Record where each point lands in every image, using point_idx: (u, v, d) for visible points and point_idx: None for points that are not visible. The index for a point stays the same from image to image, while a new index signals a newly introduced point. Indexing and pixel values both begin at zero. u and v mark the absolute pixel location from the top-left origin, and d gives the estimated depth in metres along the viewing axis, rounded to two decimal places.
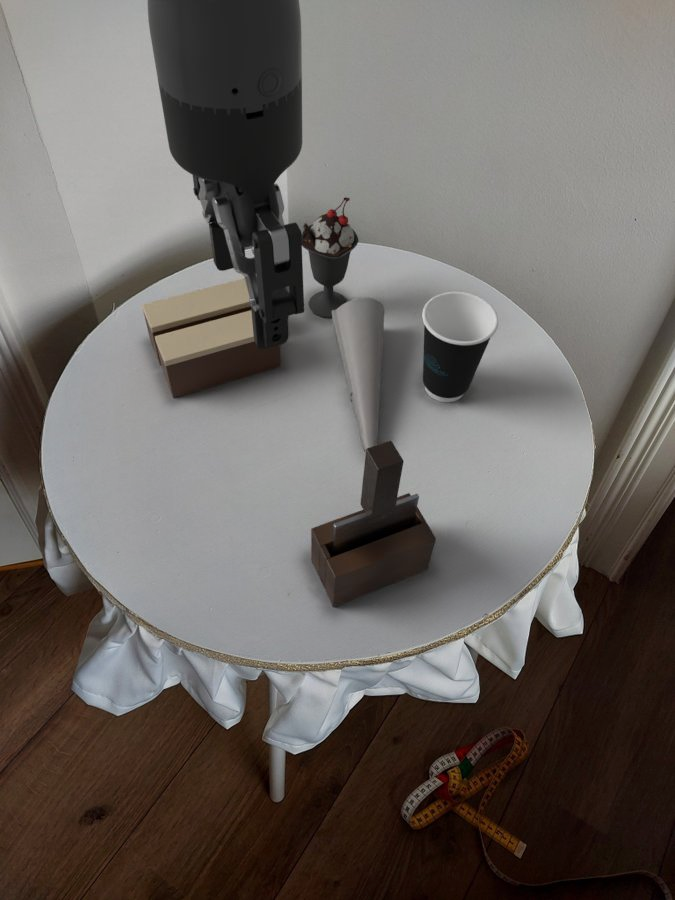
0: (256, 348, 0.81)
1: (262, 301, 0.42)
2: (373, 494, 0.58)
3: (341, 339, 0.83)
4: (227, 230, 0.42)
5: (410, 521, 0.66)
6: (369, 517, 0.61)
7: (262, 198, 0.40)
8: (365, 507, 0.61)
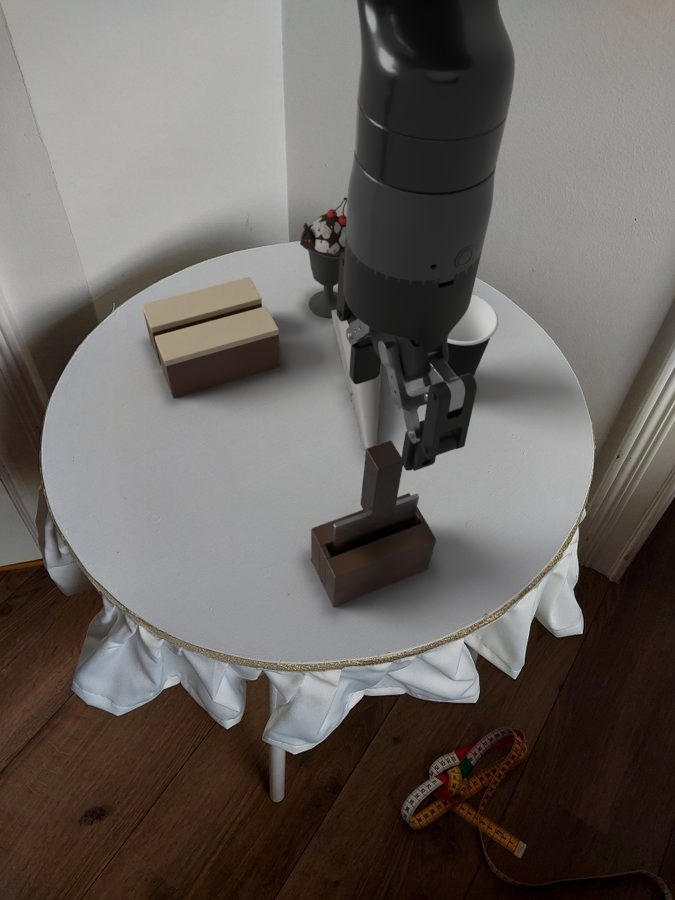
0: (256, 348, 0.81)
1: (428, 441, 0.44)
2: (373, 494, 0.58)
3: (341, 339, 0.83)
4: (393, 371, 0.44)
5: (410, 521, 0.66)
6: (369, 517, 0.61)
7: (435, 348, 0.42)
8: (365, 507, 0.61)
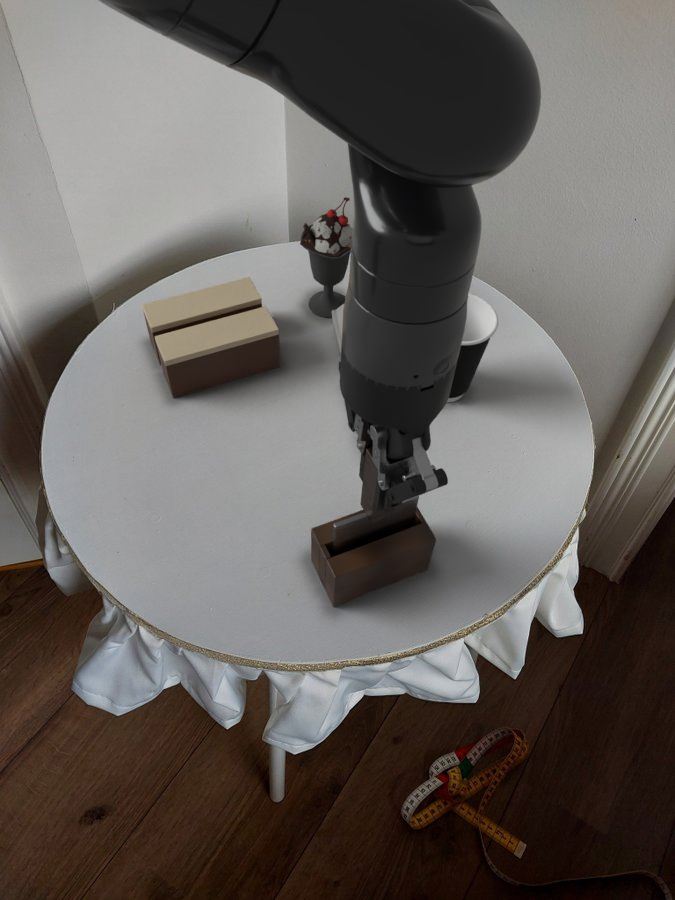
0: (256, 348, 0.81)
1: (396, 496, 0.52)
2: (373, 494, 0.58)
3: (341, 339, 0.83)
4: (379, 449, 0.51)
5: (410, 521, 0.66)
6: (369, 517, 0.61)
7: (419, 435, 0.48)
8: (365, 507, 0.61)
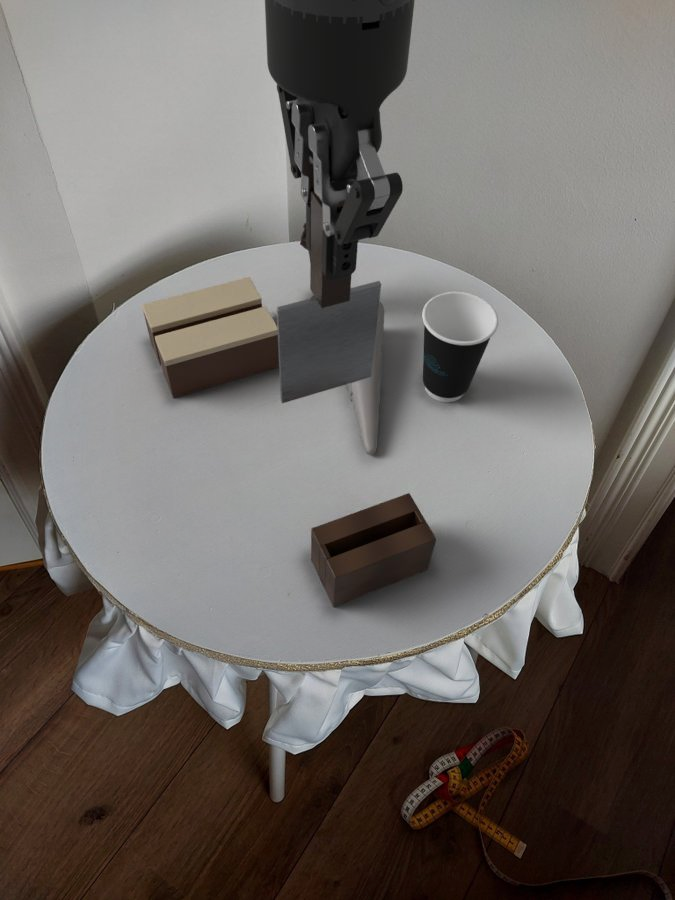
0: (256, 348, 0.81)
1: (342, 229, 0.42)
2: (321, 257, 0.48)
3: None
4: (319, 162, 0.41)
5: (373, 325, 0.56)
6: (319, 299, 0.51)
7: (366, 122, 0.38)
8: (314, 288, 0.51)
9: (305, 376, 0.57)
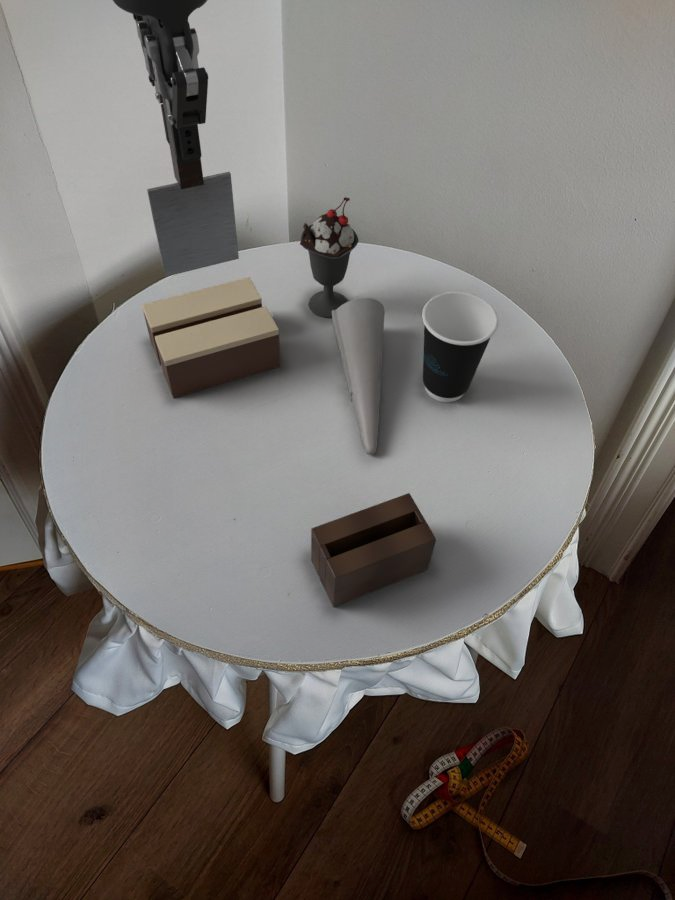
0: (256, 348, 0.81)
1: (175, 114, 0.58)
2: (173, 145, 0.64)
3: (341, 339, 0.83)
4: (154, 64, 0.57)
5: (231, 210, 0.72)
6: (179, 182, 0.67)
7: (179, 30, 0.54)
8: (176, 174, 0.67)
9: (180, 253, 0.73)
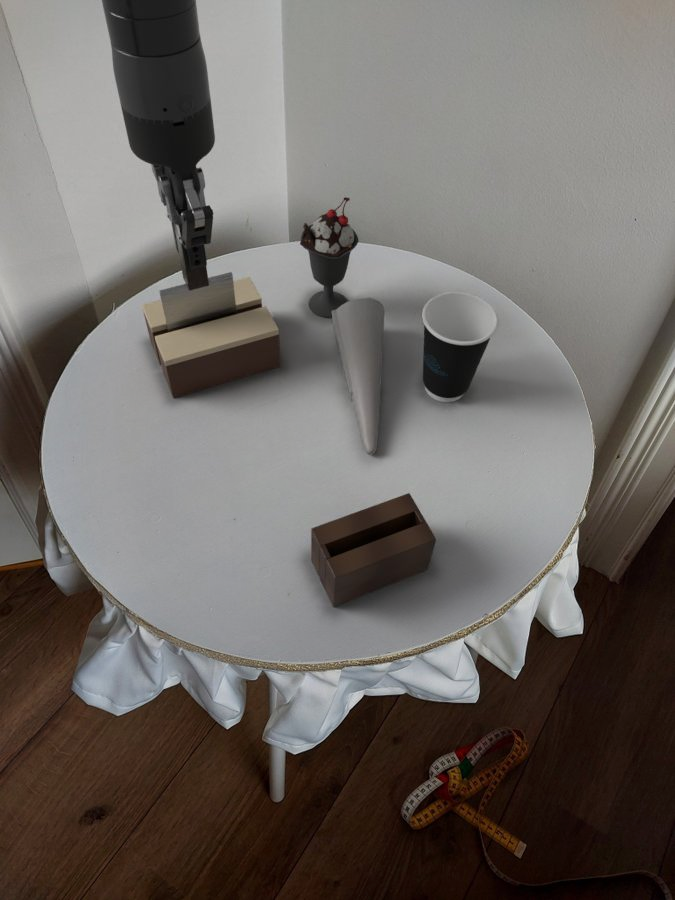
0: (256, 348, 0.81)
1: (184, 239, 0.68)
2: (182, 256, 0.73)
3: (341, 339, 0.83)
4: (167, 198, 0.66)
5: (232, 302, 0.81)
6: (187, 284, 0.76)
7: (188, 176, 0.63)
8: (184, 277, 0.76)
9: None
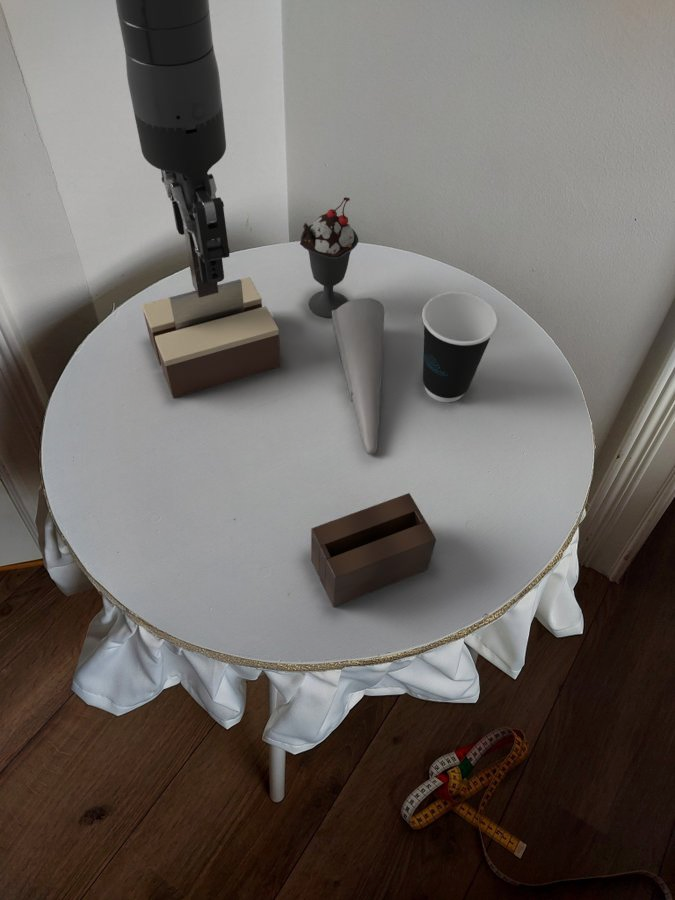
0: (256, 348, 0.81)
1: (201, 248, 0.66)
2: (193, 264, 0.74)
3: (341, 339, 0.83)
4: (179, 203, 0.66)
5: (241, 309, 0.82)
6: (197, 291, 0.77)
7: (199, 182, 0.64)
8: (194, 284, 0.77)
9: None
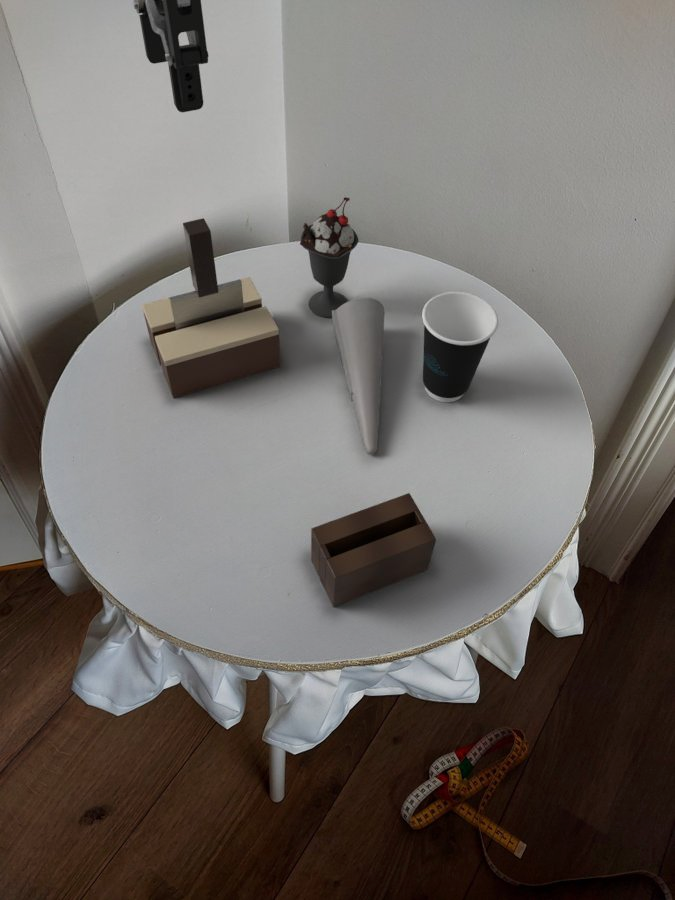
0: (256, 348, 0.81)
1: (172, 46, 0.52)
2: (193, 264, 0.74)
3: (341, 339, 0.83)
4: None
5: (241, 309, 0.82)
6: (197, 291, 0.77)
7: None
8: (194, 284, 0.77)
9: None
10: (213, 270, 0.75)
